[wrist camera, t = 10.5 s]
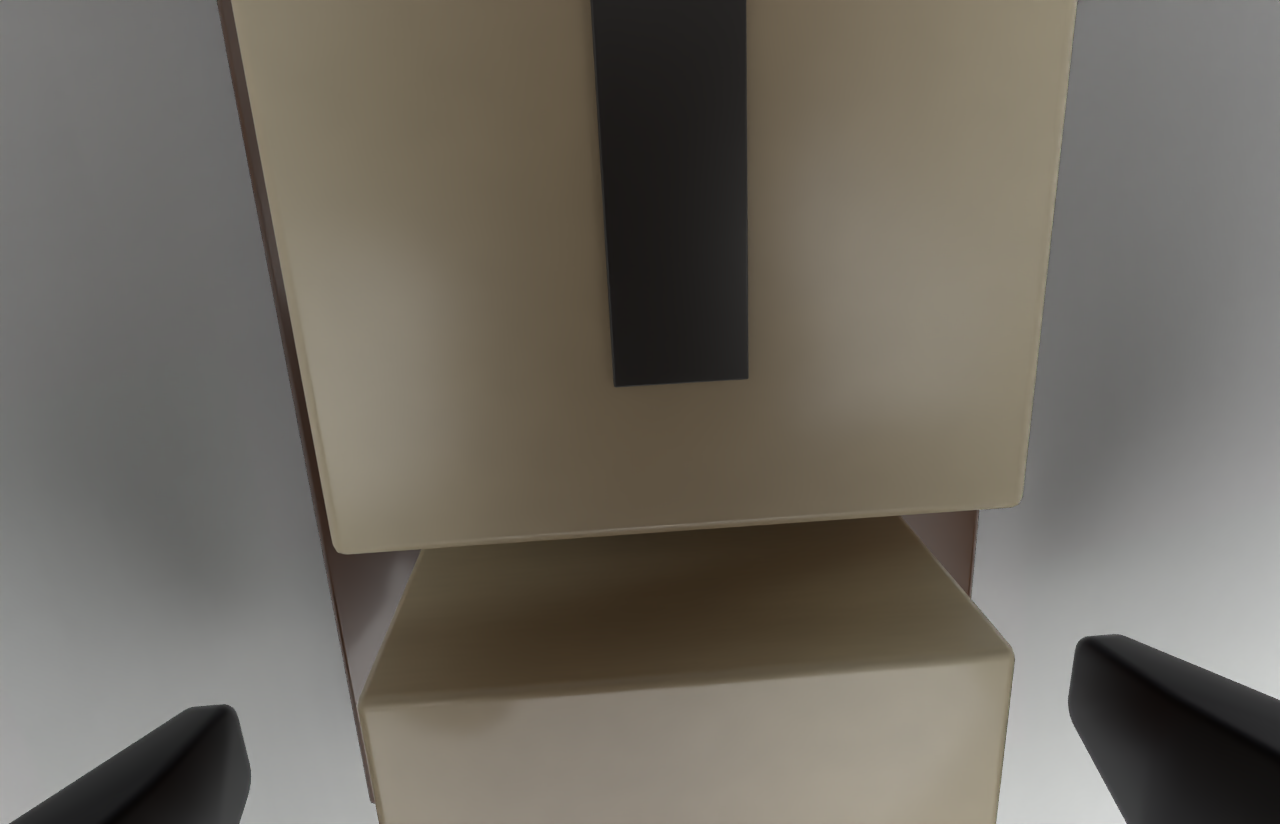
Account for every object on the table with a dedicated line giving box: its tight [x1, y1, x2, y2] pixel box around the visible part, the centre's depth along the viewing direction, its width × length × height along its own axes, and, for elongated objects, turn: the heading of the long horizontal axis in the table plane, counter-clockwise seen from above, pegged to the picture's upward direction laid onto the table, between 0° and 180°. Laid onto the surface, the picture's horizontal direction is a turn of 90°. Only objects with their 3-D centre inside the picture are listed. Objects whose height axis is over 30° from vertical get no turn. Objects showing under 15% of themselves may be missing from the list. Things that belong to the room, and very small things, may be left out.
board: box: [217, 0, 1078, 804], centre depth 6 cm, size 7×15×4 cm, turn 3°
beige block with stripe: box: [357, 515, 1015, 824], centre depth 7 cm, size 4×4×3 cm
